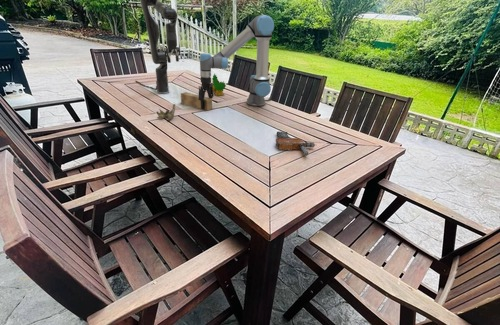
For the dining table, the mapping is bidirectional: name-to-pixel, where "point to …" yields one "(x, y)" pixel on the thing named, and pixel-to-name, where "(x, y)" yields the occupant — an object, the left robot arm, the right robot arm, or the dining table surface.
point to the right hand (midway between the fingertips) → (206, 107)
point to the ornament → (218, 86)
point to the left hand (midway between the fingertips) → (173, 62)
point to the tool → (291, 143)
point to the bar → (195, 101)
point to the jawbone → (166, 113)
